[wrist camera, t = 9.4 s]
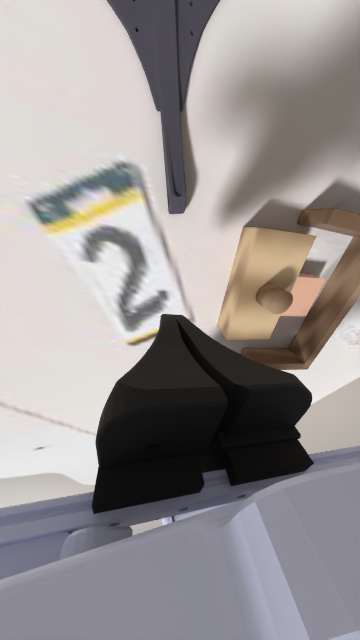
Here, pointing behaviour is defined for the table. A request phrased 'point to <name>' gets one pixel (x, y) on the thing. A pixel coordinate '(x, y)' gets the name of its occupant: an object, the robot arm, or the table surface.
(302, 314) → the tile
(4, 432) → the table surface
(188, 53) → the bracket
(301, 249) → the wooden box with knob
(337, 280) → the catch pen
